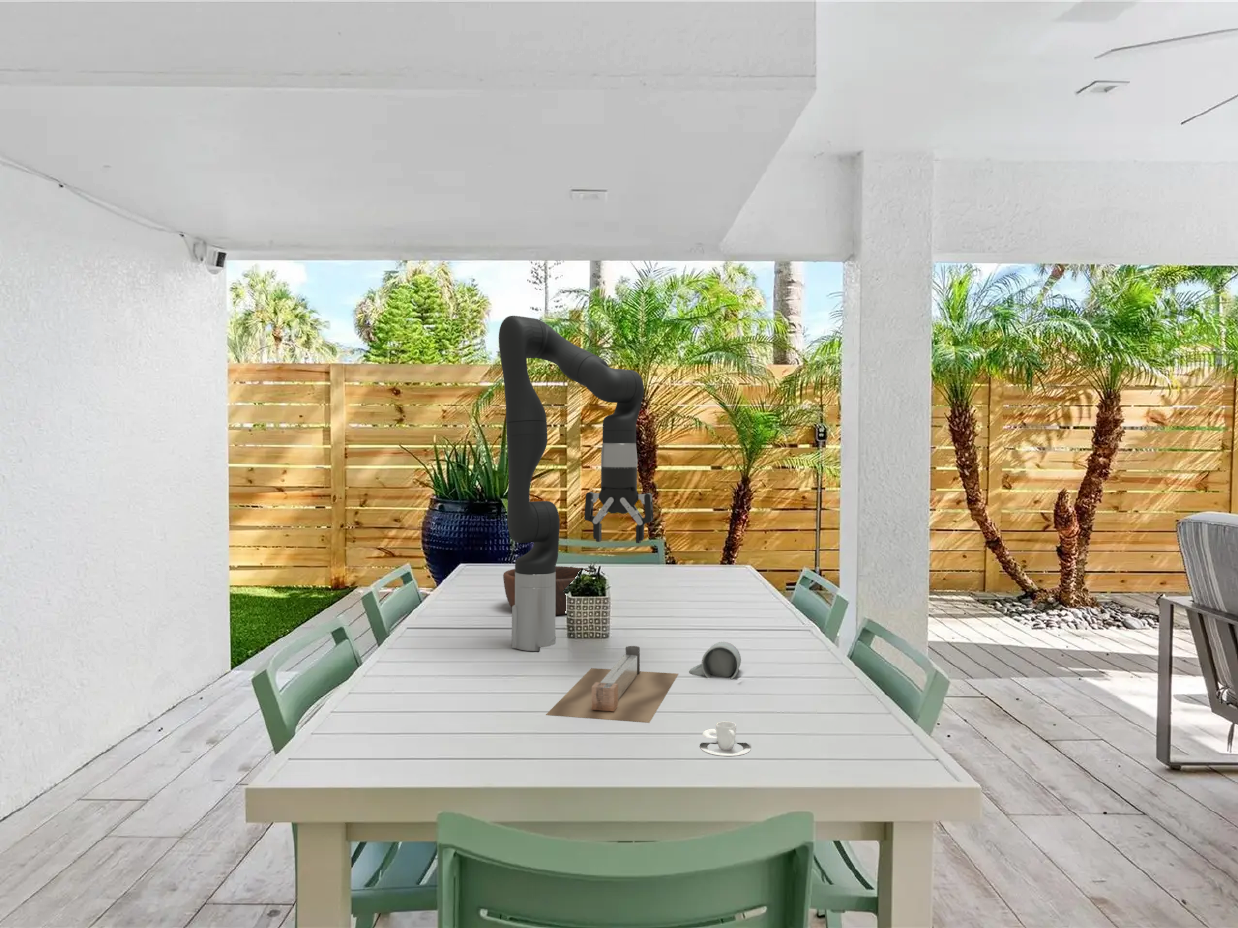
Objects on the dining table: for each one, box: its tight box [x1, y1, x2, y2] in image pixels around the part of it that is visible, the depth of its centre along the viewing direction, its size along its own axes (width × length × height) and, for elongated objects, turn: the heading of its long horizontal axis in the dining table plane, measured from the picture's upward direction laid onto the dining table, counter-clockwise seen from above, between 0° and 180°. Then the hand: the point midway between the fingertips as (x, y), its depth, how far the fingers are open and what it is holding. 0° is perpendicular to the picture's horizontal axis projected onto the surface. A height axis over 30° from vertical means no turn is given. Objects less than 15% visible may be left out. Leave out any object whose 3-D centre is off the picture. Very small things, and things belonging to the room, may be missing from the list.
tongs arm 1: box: [592, 654, 630, 711], centre depth 173 cm, size 24×2×4 cm, turn 168°
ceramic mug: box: [688, 641, 742, 680], centre depth 187 cm, size 10×8×7 cm
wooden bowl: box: [502, 565, 590, 616], centre depth 258 cm, size 25×25×10 cm
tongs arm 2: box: [603, 655, 637, 711], centre depth 173 cm, size 24×2×4 cm, turn 167°
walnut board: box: [545, 645, 679, 724], centre depth 173 cm, size 18×32×6 cm, turn 168°
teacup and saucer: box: [699, 720, 752, 757], centre depth 147 cm, size 9×8×4 cm
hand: (618, 542), depth 195 cm, fingers open, 8 cm apart
